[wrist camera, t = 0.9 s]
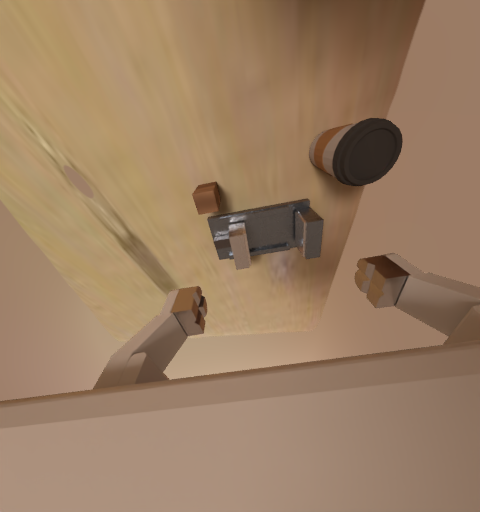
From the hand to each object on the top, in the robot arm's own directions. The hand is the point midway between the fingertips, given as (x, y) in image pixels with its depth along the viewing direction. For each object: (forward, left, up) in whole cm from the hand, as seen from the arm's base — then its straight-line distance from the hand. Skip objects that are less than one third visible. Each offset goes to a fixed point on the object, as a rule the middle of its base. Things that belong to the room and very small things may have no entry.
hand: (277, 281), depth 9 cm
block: (+3, -8, -34) cm, 36 cm away
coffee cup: (-1, +17, -35) cm, 38 cm away
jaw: (+14, -6, -33) cm, 36 cm away
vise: (+14, +2, -34) cm, 37 cm away
